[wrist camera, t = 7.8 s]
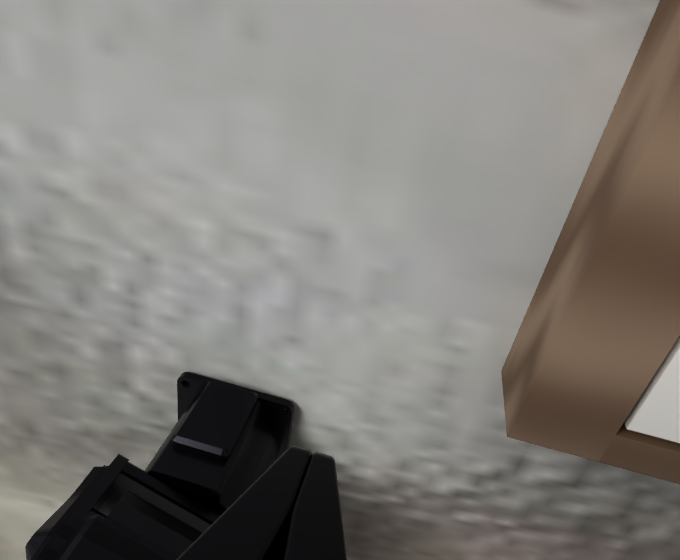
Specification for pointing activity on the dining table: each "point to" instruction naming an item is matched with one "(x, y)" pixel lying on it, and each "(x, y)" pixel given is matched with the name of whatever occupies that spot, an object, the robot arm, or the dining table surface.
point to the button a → (660, 401)
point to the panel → (610, 281)
